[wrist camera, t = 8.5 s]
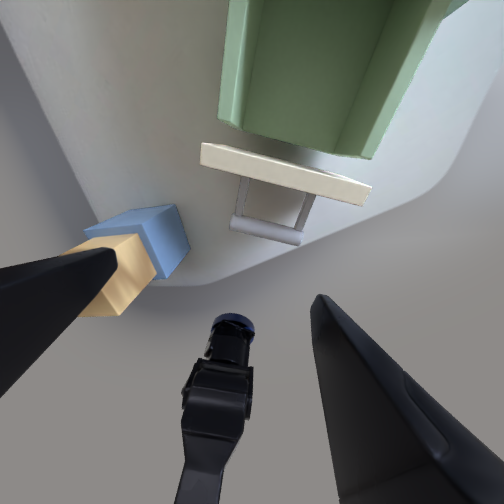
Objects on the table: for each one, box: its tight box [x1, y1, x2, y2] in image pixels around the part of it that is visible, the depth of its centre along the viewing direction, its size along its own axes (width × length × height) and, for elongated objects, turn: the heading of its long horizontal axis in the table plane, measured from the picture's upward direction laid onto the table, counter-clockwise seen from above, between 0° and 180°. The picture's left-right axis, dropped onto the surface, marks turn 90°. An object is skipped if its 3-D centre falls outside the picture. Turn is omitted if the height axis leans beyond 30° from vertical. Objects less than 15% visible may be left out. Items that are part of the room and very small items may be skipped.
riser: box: [83, 204, 190, 280], centre depth 19 cm, size 6×6×6 cm
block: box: [59, 233, 157, 317], centre depth 14 cm, size 4×4×5 cm
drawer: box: [200, 0, 452, 246], centre depth 12 cm, size 17×10×6 cm, turn 167°
